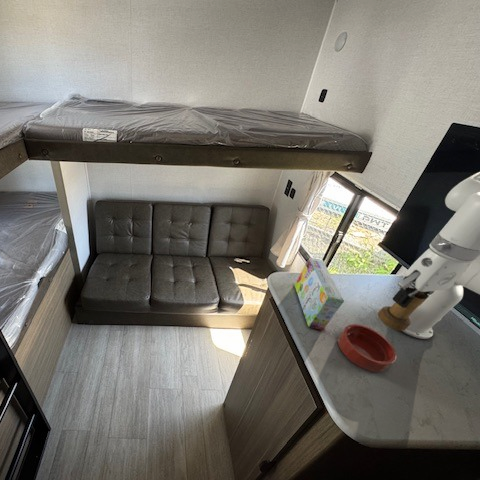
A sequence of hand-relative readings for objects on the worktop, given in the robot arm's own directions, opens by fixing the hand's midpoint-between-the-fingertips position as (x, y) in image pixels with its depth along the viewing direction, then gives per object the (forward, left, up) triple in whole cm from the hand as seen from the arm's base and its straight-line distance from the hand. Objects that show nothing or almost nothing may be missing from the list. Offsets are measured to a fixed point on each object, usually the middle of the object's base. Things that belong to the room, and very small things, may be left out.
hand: (405, 302), depth 67 cm
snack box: (+5, -19, -24) cm, 31 cm away
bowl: (0, 0, -23) cm, 23 cm away
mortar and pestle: (0, 0, -7) cm, 7 cm away
